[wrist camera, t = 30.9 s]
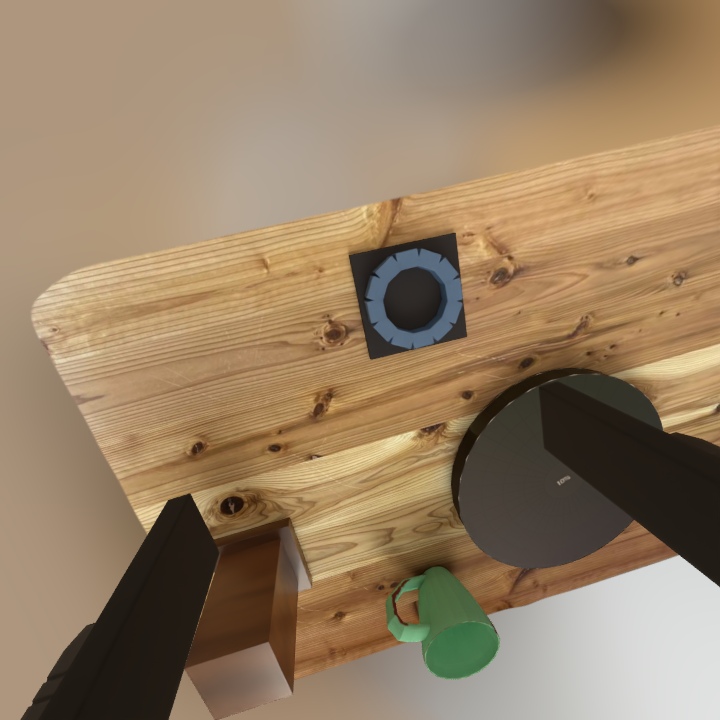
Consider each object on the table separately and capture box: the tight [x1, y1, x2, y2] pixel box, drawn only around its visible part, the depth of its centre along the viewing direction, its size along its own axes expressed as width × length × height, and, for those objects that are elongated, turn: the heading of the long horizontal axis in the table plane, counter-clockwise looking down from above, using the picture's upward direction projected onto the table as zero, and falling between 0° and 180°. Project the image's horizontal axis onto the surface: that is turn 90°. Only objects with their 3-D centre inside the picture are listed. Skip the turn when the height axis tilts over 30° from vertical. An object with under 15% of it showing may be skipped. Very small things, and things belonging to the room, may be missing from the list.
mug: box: [386, 566, 500, 679], centre depth 46 cm, size 15×10×10 cm
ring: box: [364, 248, 463, 349], centre depth 37 cm, size 11×11×2 cm
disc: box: [451, 368, 663, 569], centre depth 46 cm, size 30×30×3 cm
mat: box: [349, 233, 467, 359], centre depth 38 cm, size 12×12×1 cm
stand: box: [184, 518, 312, 720], centre depth 39 cm, size 11×11×14 cm
